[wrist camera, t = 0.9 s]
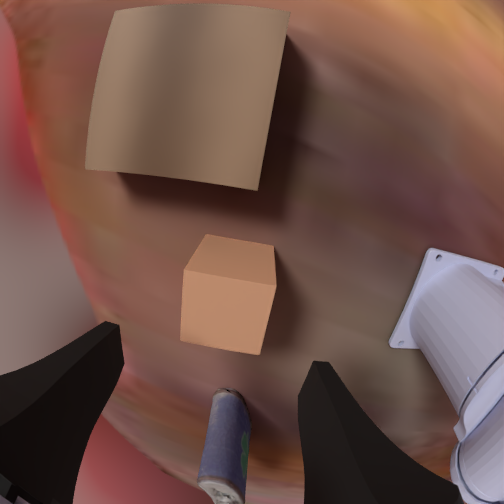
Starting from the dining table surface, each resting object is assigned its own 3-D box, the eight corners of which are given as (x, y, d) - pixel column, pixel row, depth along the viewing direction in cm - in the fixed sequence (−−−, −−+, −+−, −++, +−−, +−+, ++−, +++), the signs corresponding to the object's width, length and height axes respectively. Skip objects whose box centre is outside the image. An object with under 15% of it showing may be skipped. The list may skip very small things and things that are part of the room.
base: (286, 33, 12) (290, 11, 9) (258, 182, 15) (257, 190, 12) (137, 27, 12) (115, 10, 9) (111, 163, 15) (84, 169, 12)
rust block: (273, 245, 17) (276, 286, 12) (261, 303, 18) (259, 354, 13) (206, 233, 17) (184, 269, 12) (199, 292, 18) (180, 340, 13)
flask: (210, 386, 21) (188, 502, 11) (246, 386, 21) (236, 507, 11) (226, 440, 25) (215, 528, 15) (254, 440, 24) (249, 530, 14)
